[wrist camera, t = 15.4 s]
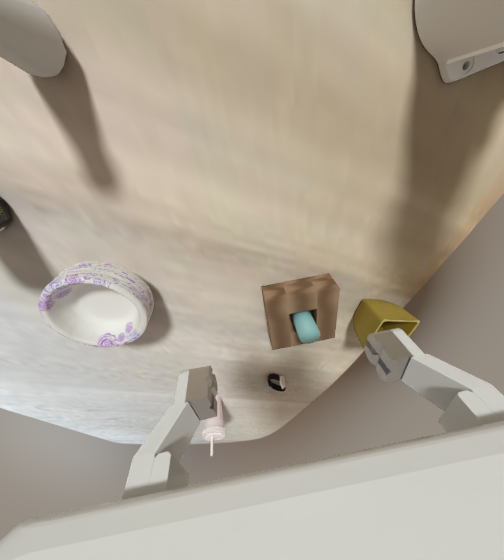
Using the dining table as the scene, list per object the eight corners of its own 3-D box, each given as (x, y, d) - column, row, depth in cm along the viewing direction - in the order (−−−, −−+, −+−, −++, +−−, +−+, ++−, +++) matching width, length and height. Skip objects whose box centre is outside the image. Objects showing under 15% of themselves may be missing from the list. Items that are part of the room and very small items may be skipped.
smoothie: (200, 396, 65) (196, 454, 53) (221, 391, 64) (221, 447, 53) (208, 406, 68) (206, 462, 57) (228, 401, 68) (230, 456, 56)
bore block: (328, 273, 45) (339, 287, 41) (325, 321, 53) (334, 337, 49) (261, 286, 45) (265, 302, 41) (268, 332, 53) (272, 349, 49)
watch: (288, 381, 66) (291, 393, 63) (273, 387, 67) (276, 399, 64) (277, 368, 62) (280, 380, 59) (262, 375, 63) (265, 387, 60)
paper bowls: (125, 329, 47) (109, 361, 40) (49, 285, 39) (15, 316, 33) (175, 290, 43) (167, 318, 36) (101, 233, 35) (75, 256, 29)
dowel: (306, 299, 47) (320, 327, 40) (307, 313, 49) (320, 341, 43) (288, 303, 47) (299, 331, 40) (289, 316, 49) (299, 345, 43)
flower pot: (392, 293, 51) (422, 321, 43) (375, 321, 55) (399, 350, 48) (358, 291, 49) (383, 319, 42) (343, 320, 54) (363, 350, 46)
